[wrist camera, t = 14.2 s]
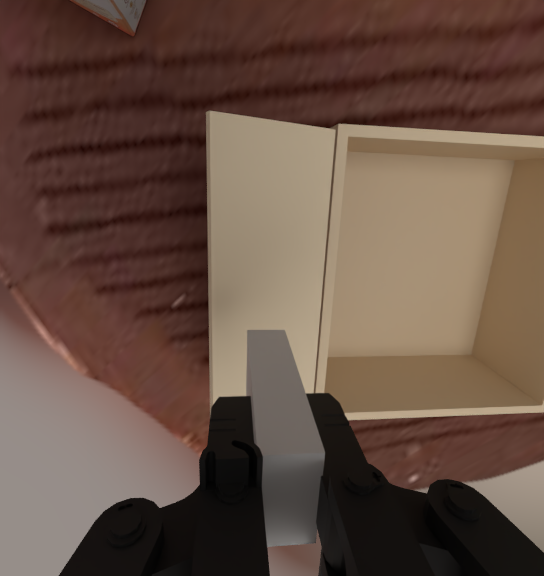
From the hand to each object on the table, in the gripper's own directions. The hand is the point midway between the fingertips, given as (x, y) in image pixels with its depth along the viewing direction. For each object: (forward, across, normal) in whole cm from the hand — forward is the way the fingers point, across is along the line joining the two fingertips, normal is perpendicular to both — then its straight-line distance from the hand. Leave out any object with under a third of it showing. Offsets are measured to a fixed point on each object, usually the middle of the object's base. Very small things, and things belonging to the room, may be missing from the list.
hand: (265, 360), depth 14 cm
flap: (+10, +6, 0) cm, 12 cm away
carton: (+21, +16, -1) cm, 26 cm away
